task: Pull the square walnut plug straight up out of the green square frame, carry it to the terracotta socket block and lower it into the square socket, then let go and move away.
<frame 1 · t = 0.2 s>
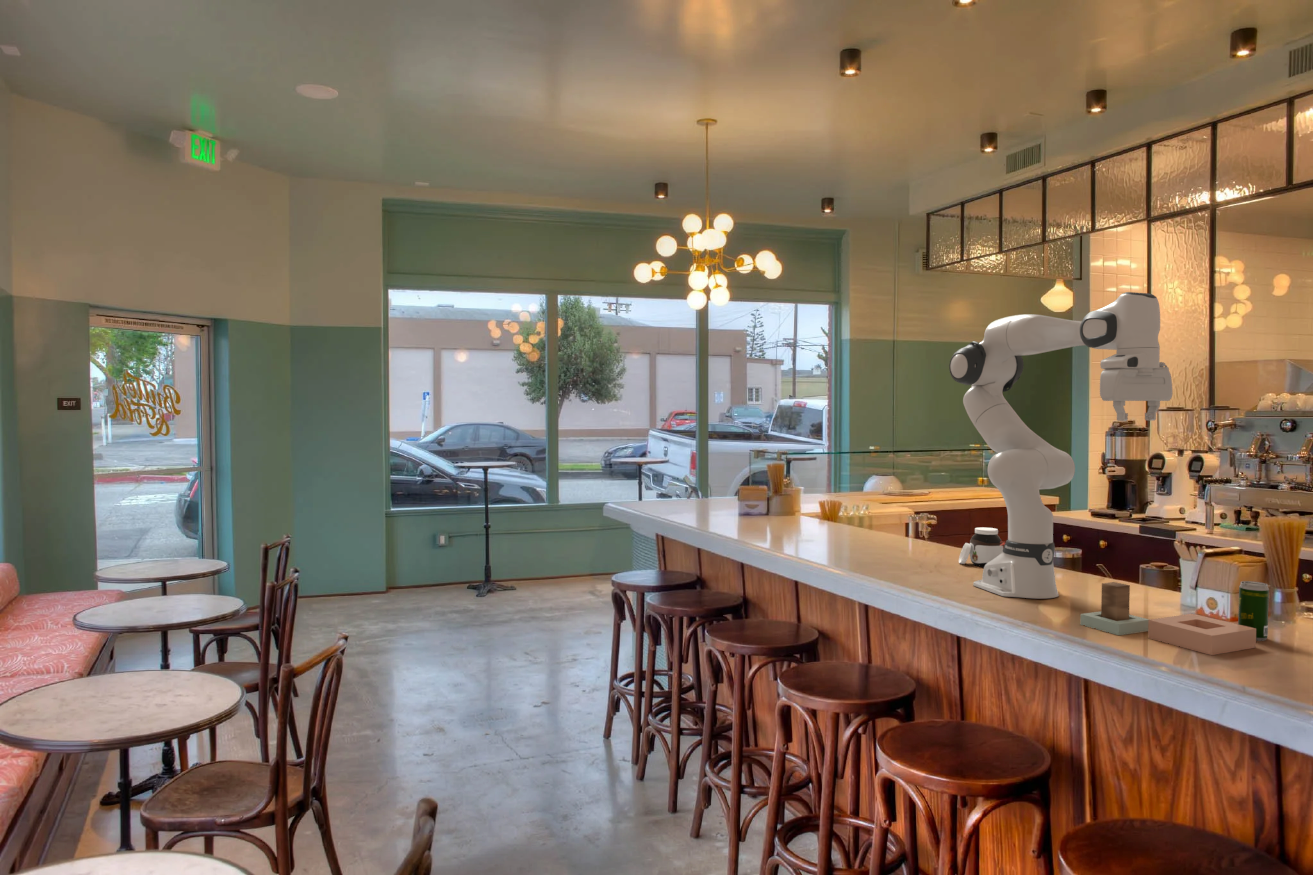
hand: (1136, 420, 201), 47 cm above the countertop, tool pointing down, fingers open, 8 cm apart
beer can: (1252, 638, 188), on the countertop
green square frame: (1114, 627, 196), on the countertop
plug: (1115, 606, 196), in the green square frame
spread jar: (978, 565, 273), on the countertop
socket block: (1200, 642, 184), on the countertop
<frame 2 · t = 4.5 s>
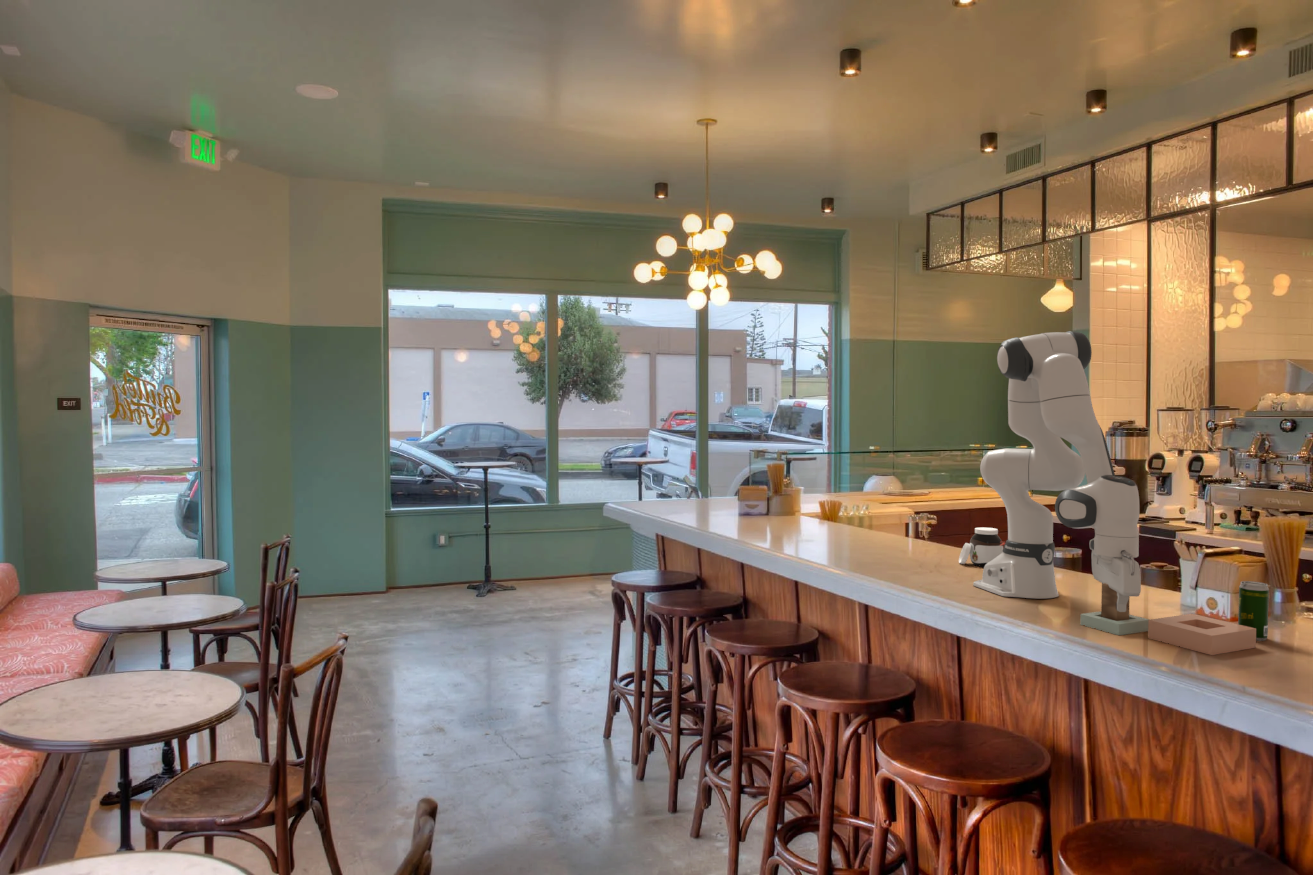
hand: (1115, 607, 196), 5 cm above the countertop, tool pointing down, fingers closed on plug, 5 cm apart
plug: (1115, 605, 196), in the green square frame, touching gripper
everything else where it was.
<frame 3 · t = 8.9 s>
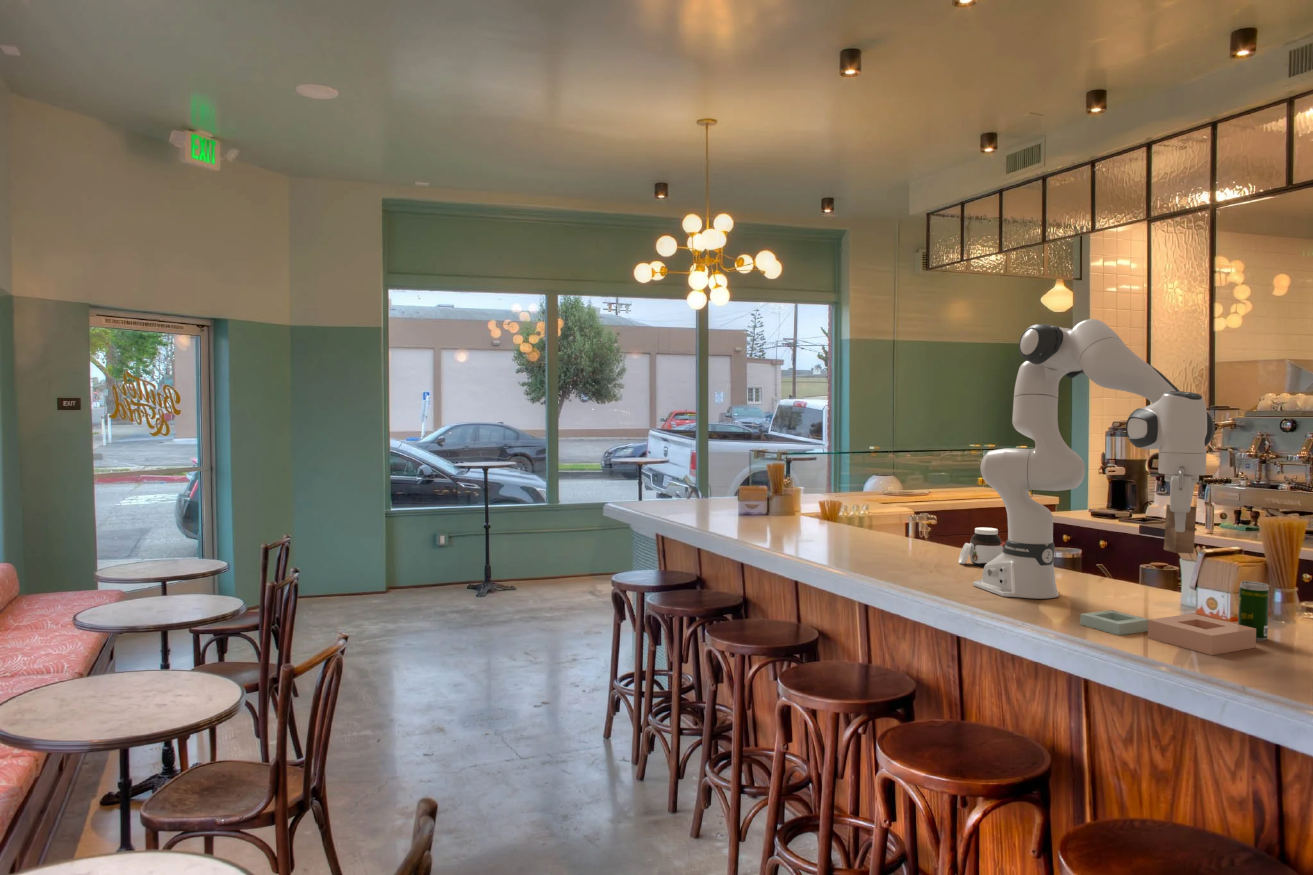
hand: (1180, 529, 186), 24 cm above the countertop, tool pointing down, fingers closed on plug, 6 cm apart
plug: (1179, 528, 186), point 24 cm above the countertop, touching gripper
everything else where it was.
when the fingers open (6 cm above the countertop, at t = 13.5 s): plug drops 1 cm, resting in socket block.
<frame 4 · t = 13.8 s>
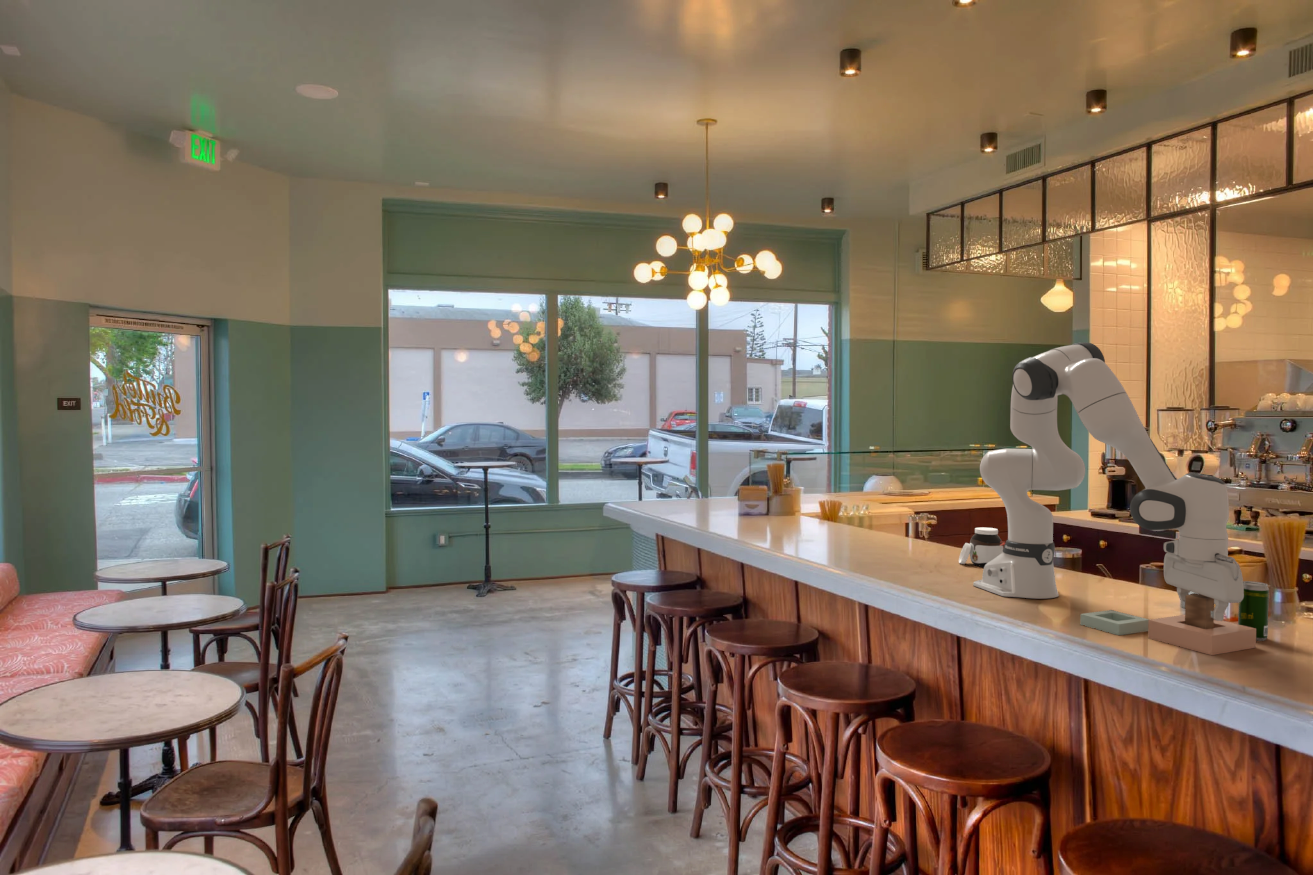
hand: (1201, 614, 184), 6 cm above the countertop, tool pointing down, fingers open, 8 cm apart
plug: (1199, 619, 184), in the socket block
everything else where it was.
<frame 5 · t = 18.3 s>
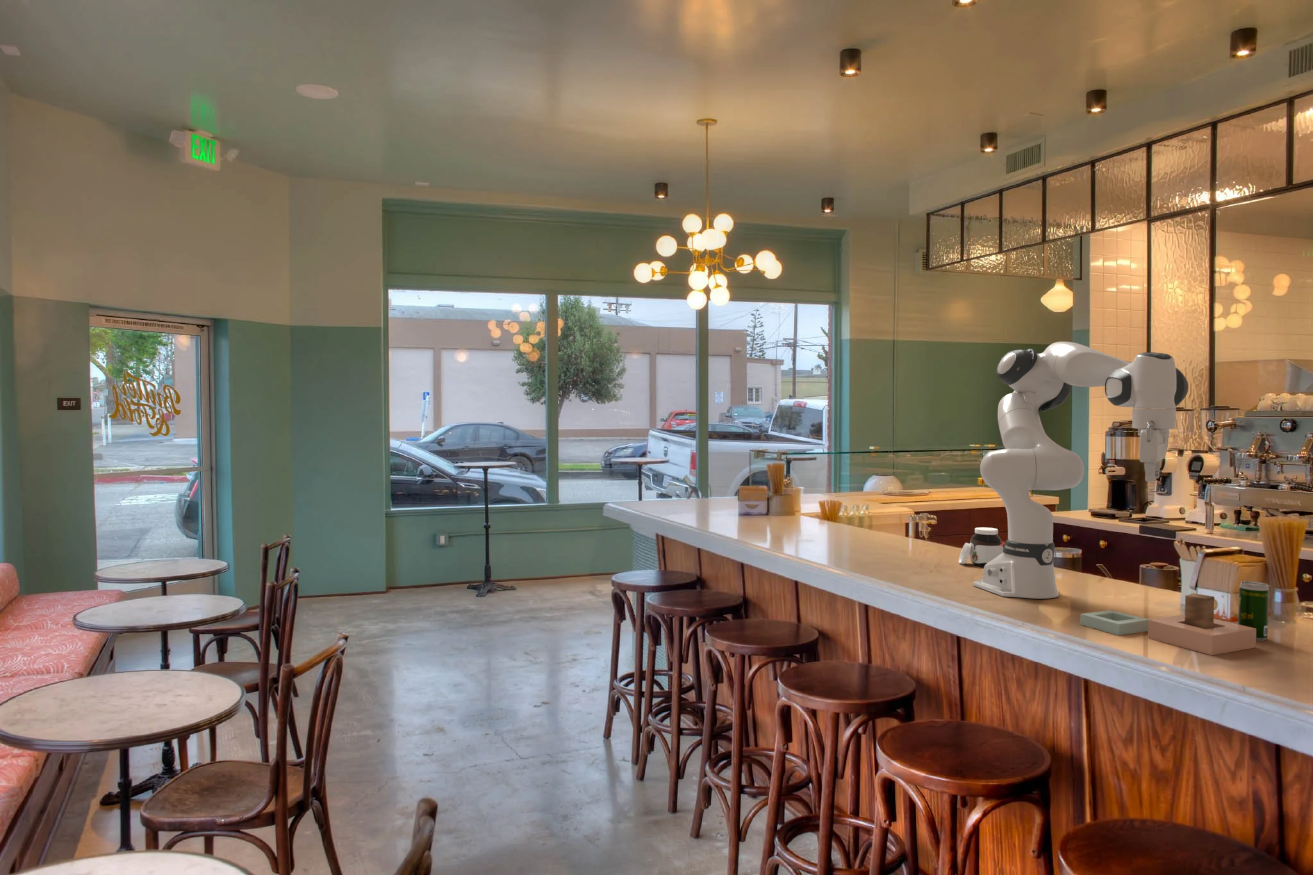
hand: (1152, 480, 202), 33 cm above the countertop, tool pointing down, fingers open, 8 cm apart
nothing on the countertop moved.
at the end: plug 0.4 cm off-centre on the socket block, point 5.0 cm above the socket block's base; plug tilted 0°; the gripper is holding nothing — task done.
